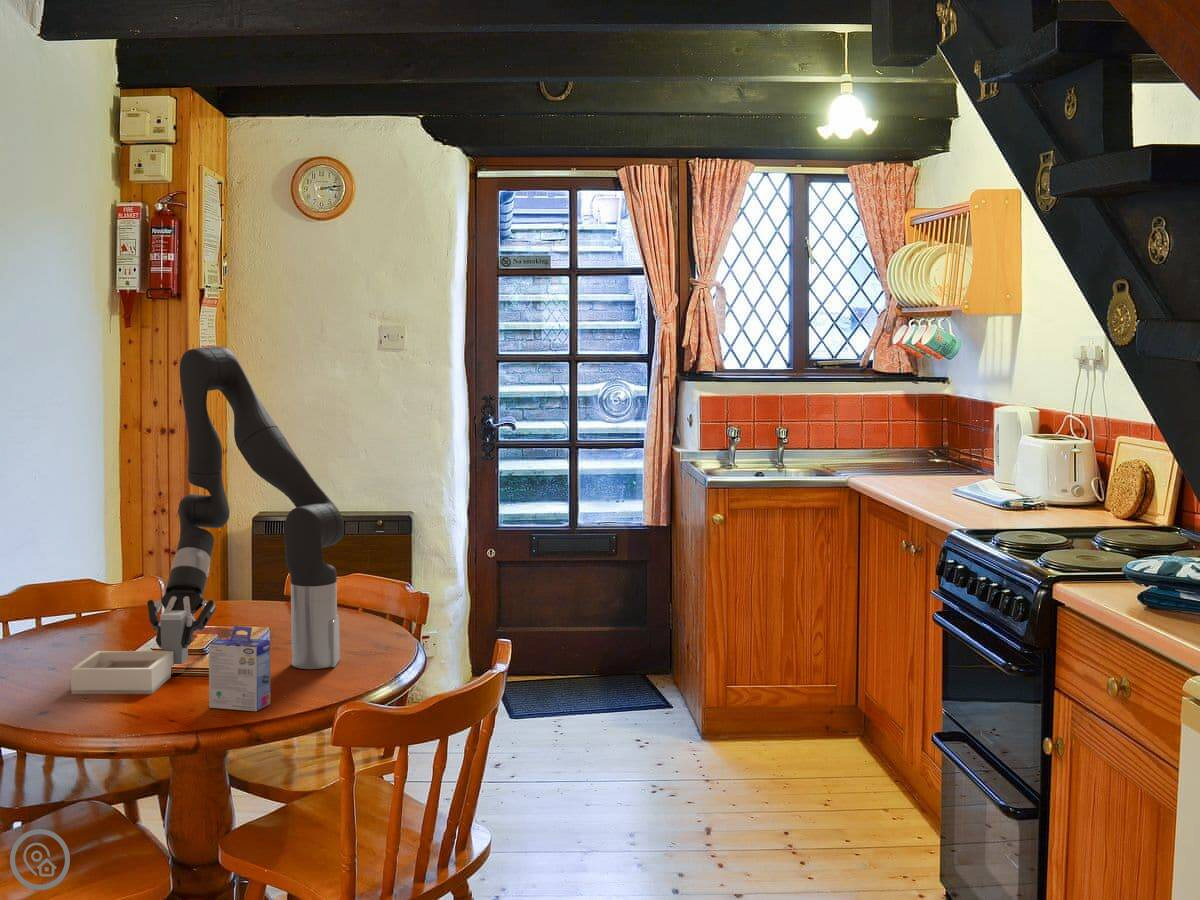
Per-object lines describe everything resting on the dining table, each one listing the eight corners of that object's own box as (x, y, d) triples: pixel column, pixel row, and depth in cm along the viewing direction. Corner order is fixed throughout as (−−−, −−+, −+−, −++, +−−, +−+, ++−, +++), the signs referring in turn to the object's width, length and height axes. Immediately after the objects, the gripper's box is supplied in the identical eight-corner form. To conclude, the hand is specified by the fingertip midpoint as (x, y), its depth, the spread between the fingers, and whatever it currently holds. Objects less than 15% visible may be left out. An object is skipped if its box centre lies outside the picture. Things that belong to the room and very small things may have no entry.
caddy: (173, 674, 240) (173, 651, 239) (152, 694, 227) (151, 669, 226) (97, 674, 239) (96, 651, 239) (71, 694, 226) (70, 669, 226)
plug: (188, 668, 244) (186, 610, 243) (182, 673, 240) (180, 615, 239) (168, 668, 244) (166, 610, 243) (161, 673, 240) (160, 615, 239)
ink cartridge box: (272, 703, 222) (271, 626, 220) (258, 712, 216) (256, 634, 215) (223, 699, 224) (222, 623, 222) (208, 708, 218) (206, 630, 217)
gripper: (150, 564, 248) (131, 636, 237) (219, 564, 248) (203, 636, 238) (159, 584, 254) (141, 655, 243) (227, 584, 254) (212, 655, 243)
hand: (172, 645), depth 240 cm, fingers closed on plug, 4 cm apart
